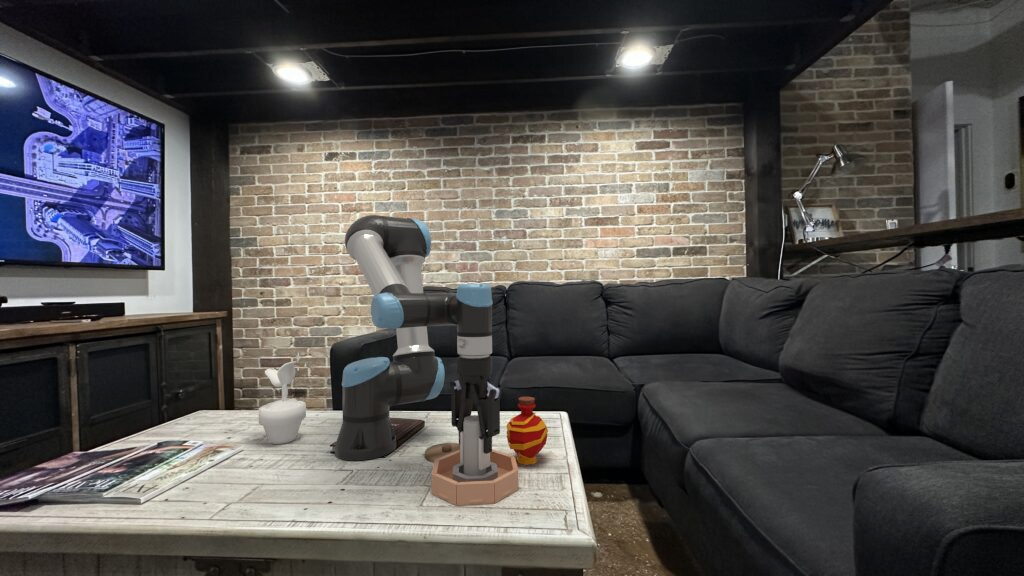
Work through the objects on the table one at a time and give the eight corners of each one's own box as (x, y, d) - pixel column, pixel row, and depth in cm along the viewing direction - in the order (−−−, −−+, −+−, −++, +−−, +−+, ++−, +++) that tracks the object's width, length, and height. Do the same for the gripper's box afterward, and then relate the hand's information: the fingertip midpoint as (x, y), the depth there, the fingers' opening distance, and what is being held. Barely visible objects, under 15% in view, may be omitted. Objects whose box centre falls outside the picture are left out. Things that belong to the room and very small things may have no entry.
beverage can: (468, 481, 86) (468, 423, 86) (460, 472, 90) (460, 417, 90) (489, 476, 88) (489, 419, 88) (480, 468, 92) (480, 413, 92)
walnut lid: (415, 457, 105) (415, 447, 105) (448, 445, 113) (448, 435, 113) (444, 469, 98) (444, 457, 98) (477, 454, 106) (477, 444, 106)
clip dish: (414, 486, 88) (414, 467, 88) (474, 459, 102) (474, 443, 102) (475, 515, 76) (475, 493, 76) (534, 480, 90) (533, 462, 90)
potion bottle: (545, 470, 95) (545, 405, 96) (501, 467, 97) (501, 403, 98) (550, 453, 106) (550, 394, 106) (510, 450, 108) (510, 392, 108)
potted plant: (314, 438, 118) (314, 349, 118) (272, 451, 108) (272, 355, 108) (289, 430, 125) (290, 347, 125) (248, 442, 115) (248, 351, 115)
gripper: (434, 353, 92) (434, 459, 92) (493, 361, 81) (494, 482, 81) (458, 350, 98) (459, 449, 98) (517, 357, 87) (518, 469, 86)
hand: (475, 463), depth 89 cm, fingers closed on beverage can, 5 cm apart
